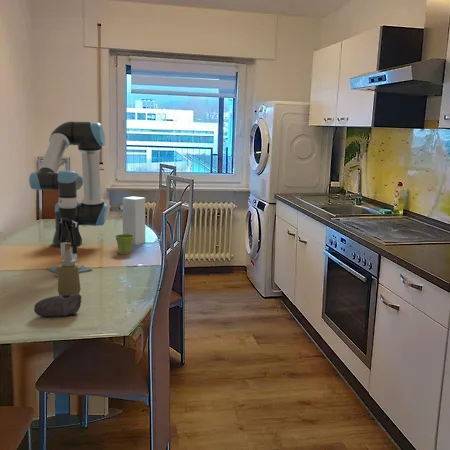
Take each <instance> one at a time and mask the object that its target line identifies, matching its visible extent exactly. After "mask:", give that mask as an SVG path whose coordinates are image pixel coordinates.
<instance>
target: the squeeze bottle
mask: <svg viewBox="0 0 450 450" xmlns="http://www.w3.org/2000/svg"><path fill="white" fill-rule="evenodd" d="M75 263H76V261H75V260H74V259H72V257H71V253H70V250H67V251H66V256H65V257H64V259H62V260H61V264H62V266H61V267H60V268H59V275H58V281H57V293H58V296H59V295H68V294H79V295H80V291H81V281H80V273H79V272H78V267H77V266H76V265H75Z"/></svg>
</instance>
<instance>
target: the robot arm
mask: <svg viewBox="0 0 450 450" xmlns="http://www.w3.org/2000/svg"><path fill="white" fill-rule="evenodd" d="M104 130H105V129H104V127H103V125H102V124H101V123H100V122H95V121H73V120H72V121H67V122H63V123H61V124H60V125H58V126H57V127H56V128H55V129H54V130H52V131H51V133H50V135H49V140H48V141H49V144H48V147H47V150H46V151H45V154H44V156H43V159H42V161H41V164H40V167H39V169H38V171H36V172H35V171H34V172H31V173H30V174H29V177H28V178H29V179H28V181H29V182H28V183H29V187H30V188H31V189H32V190H39V191H57V192H58V193H57V194H58V195H57V196H58V200H57V203H56V204H55V206H54V218H55V219H54V220H55V222H54V225H55V231H54V235H53V238H52V246H53V247H57V248H58V247H59V248H60V258H62V259H63V258H65V243H71V246H70V253H71V257H72V259H74V260H75V262H77V261H78V246H82V245H83V238H82V236H81V233H80V229H79V227H80V226H91V227H92V226H95V227H97V226H98V227H100V226H101V227H102V226H103V225H105V223H106V220H107V216H108V207H109V206H108V204H107V203H105V199H103V198H102V194H101V172H100V171H101V168H100V152H101V151H102V150H103V148H102V147H104V146H105V145H106V137H105V131H104ZM69 146H77V150H78V151H79V152H80V153H81V165H82V166H81V167H82V168H81V169H82V170H81V171H82V175H81V174H79V173H77V172H76V171H75V170H70V169H69V170H67V169H65V170H59V167H60V164H61V162H62V159H63V156H64V153H65V151H66V150H67V149H68V148H69ZM81 188H83V198H82V199H81V201H80V202H79V200H78V196H77V195H78V193H77V190H80V189H81Z"/></svg>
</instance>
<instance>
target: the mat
mask: <svg viewBox="0 0 450 450" xmlns="http://www.w3.org/2000/svg"><path fill="white" fill-rule="evenodd" d="M80 265H81V269H80V270H78V272H79V274H80V273H81V274H82V273H87V272H92V270H93V269H92V268H89V267H87V266H84V265H83V264H80ZM57 266H58V265H55V266H50V267H46V271H47V270H48V271H50V272H52V273H54V274H56V275H58V276H59V270H57Z"/></svg>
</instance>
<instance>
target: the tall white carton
mask: <svg viewBox="0 0 450 450" xmlns="http://www.w3.org/2000/svg"><path fill="white" fill-rule="evenodd" d="M122 234H130V235H134V237H133V241H132V246H138V245H142V244H145V243H146V197H141V196H134V195H133V196H127V197H123V198H122Z"/></svg>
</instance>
